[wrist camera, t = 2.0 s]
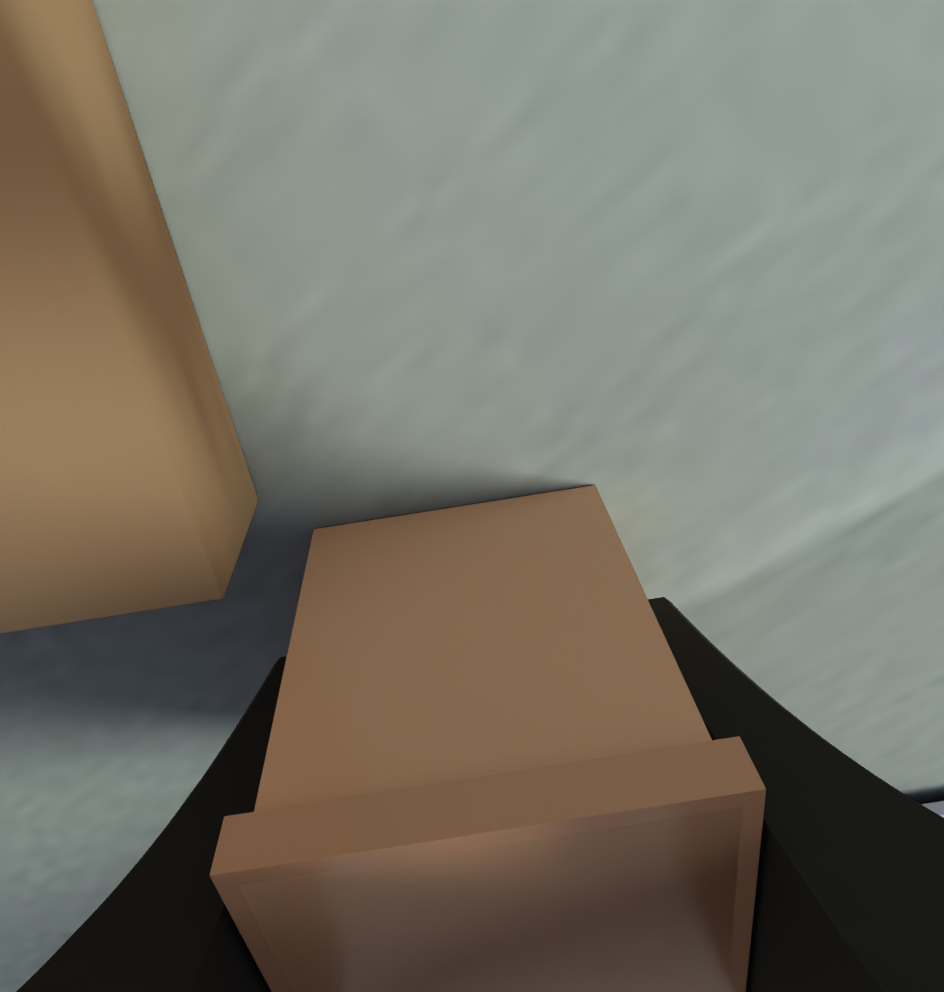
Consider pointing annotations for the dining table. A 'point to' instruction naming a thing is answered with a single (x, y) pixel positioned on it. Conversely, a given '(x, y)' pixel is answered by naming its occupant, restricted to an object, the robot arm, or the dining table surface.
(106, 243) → the walnut block
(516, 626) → the square wooden stamp
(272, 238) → the dining table surface
